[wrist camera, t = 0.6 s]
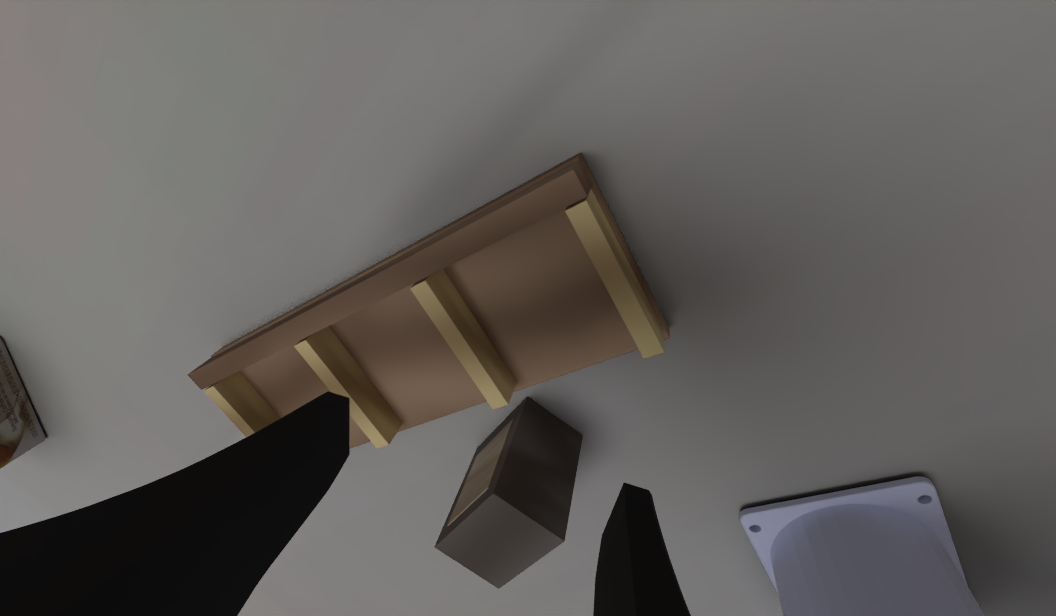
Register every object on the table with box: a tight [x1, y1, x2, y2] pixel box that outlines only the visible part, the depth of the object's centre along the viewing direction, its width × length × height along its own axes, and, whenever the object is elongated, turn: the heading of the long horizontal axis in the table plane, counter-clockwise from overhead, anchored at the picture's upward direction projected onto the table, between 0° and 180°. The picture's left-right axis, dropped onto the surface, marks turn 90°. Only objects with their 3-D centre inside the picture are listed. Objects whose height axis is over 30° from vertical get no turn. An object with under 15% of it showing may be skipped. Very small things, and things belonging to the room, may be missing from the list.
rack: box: [188, 153, 670, 449], centre depth 22 cm, size 8×22×2 cm, turn 120°
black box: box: [435, 396, 583, 589], centre depth 23 cm, size 4×5×6 cm
